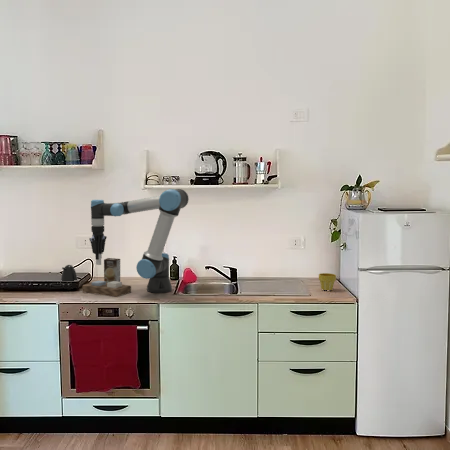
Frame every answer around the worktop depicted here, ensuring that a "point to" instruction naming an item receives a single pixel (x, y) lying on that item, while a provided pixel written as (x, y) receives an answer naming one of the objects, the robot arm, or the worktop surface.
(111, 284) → the white key
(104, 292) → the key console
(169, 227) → the robot arm
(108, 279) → the coffee box
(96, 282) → the blue key
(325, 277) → the plant pot
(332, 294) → the worktop surface
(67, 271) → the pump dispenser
